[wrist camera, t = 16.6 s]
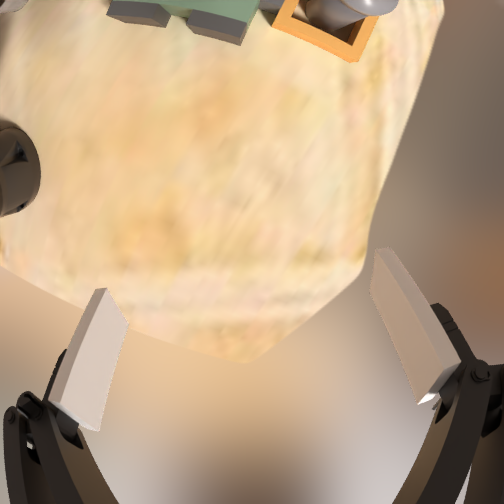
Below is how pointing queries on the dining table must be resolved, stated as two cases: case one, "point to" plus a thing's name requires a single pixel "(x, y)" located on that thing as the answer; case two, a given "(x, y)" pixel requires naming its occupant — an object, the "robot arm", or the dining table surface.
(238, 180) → the dining table surface
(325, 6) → the grey flared cylinder
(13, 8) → the house plant
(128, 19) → the green corner-block plate
